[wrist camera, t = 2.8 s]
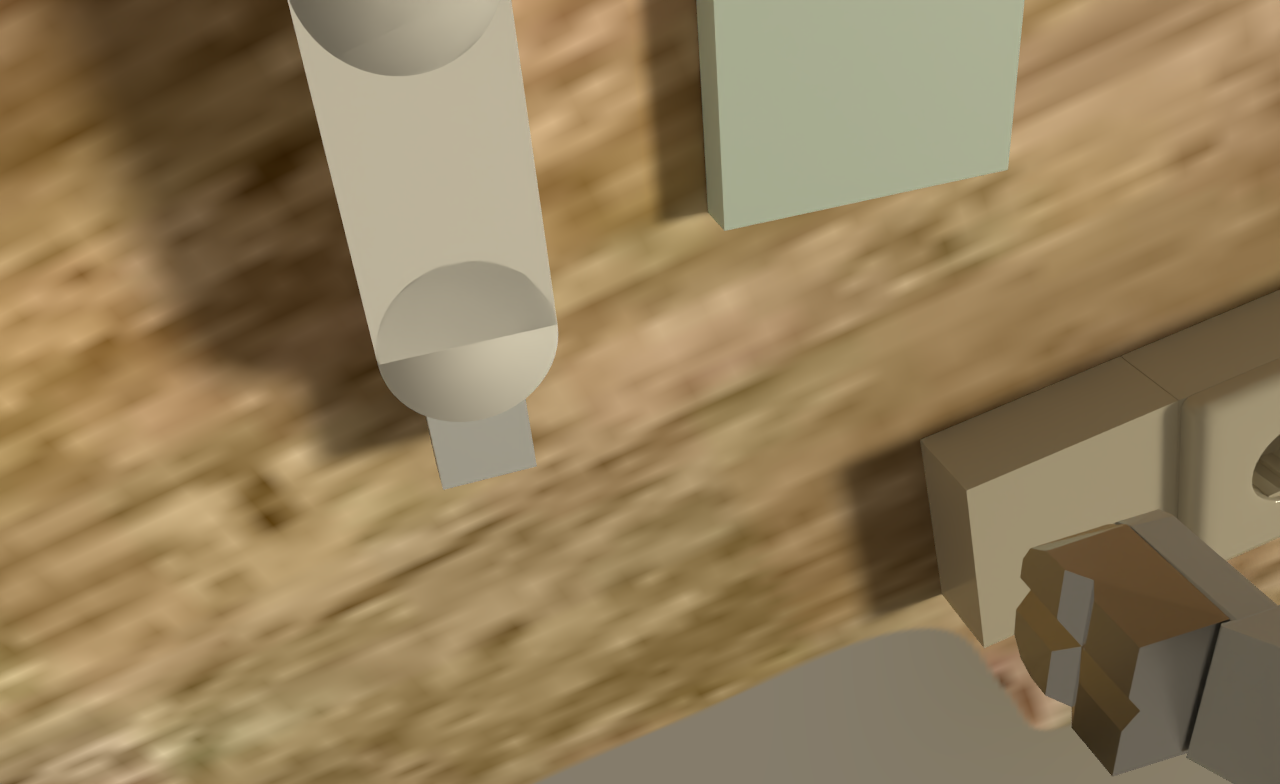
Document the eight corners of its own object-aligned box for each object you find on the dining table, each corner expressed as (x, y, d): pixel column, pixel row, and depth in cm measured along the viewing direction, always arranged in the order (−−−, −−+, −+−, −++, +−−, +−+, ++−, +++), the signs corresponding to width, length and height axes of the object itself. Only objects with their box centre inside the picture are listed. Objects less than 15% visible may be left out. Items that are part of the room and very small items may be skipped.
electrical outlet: (983, 509, 33) (1508, 284, 35) (914, 433, 37) (1397, 232, 38) (999, 667, 37) (1468, 459, 39) (936, 587, 41) (1372, 398, 43)
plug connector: (248, -167, 22) (252, -139, 19) (450, -193, 23) (486, -171, 20) (398, 440, 31) (419, 532, 27) (544, 405, 31) (581, 490, 28)
